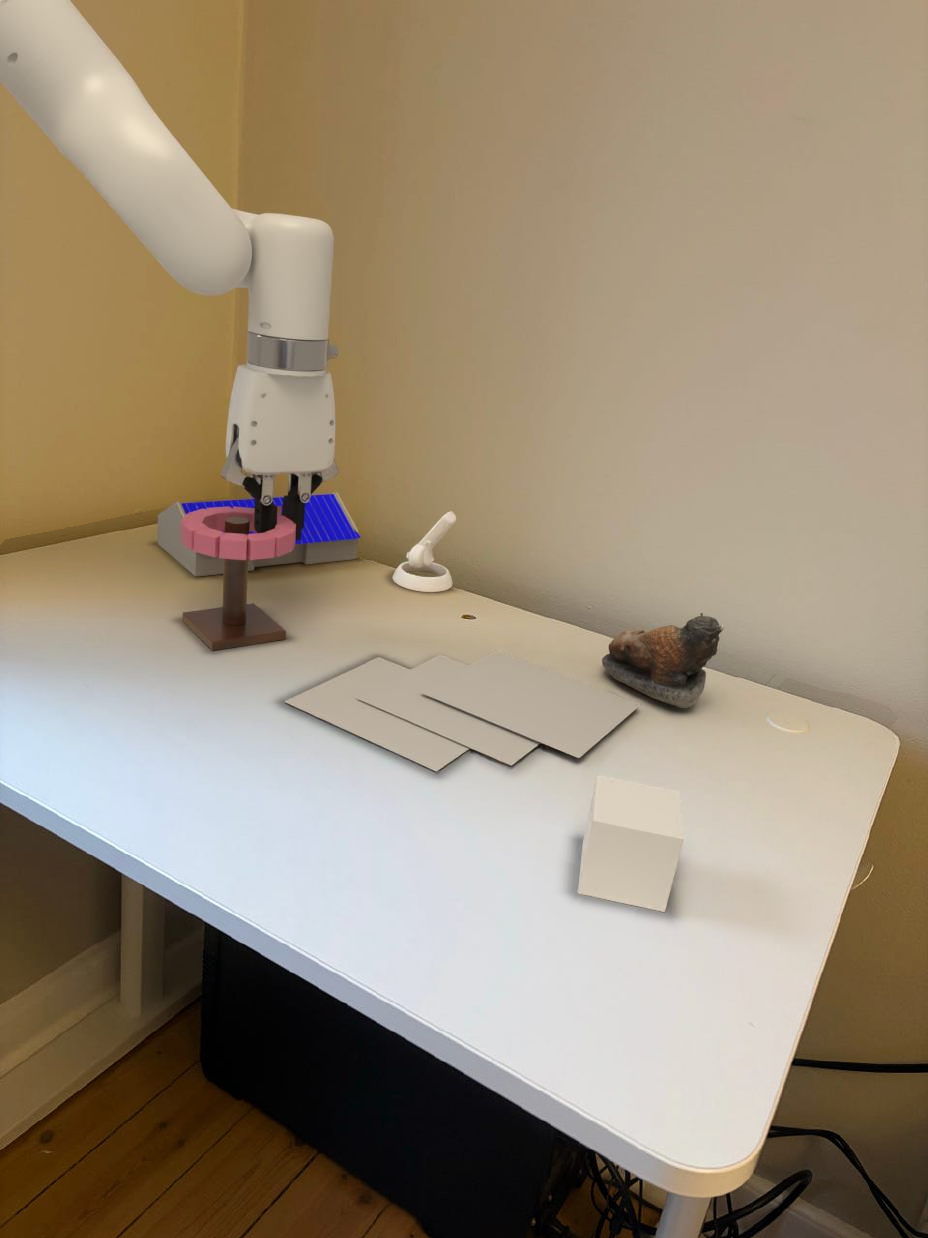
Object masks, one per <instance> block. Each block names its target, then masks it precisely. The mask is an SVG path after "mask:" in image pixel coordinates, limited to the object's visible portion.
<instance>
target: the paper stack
mask: <svg viewBox="0 0 928 1238" xmlns="http://www.w3.org/2000/svg"><path fill="white" fill-rule="evenodd" d="M284 703H285V704H287V705H291V706H292V707H294V708H297V709H299V710H301V711H303V712H305V713H307V714H310V715H312V716H314V717H316V718H318V719H320V720H323V721H325V722H327V723H329V724H330V725H331V724H332V725H334V726H336V727H338V728H340V729H342V730H345V731H347V732H349V733H350V734H351V733H352V734H353V735H356V736H358V737H360V738H361V739H364V740H366V741H369V742H371V743H373V744H375V745H376V746H377V745H378V746H380V747H381V748H384V749H386V750H388V751H391V752H392V753H394V754H397V755H398V756H401V757H404V758H405V759H408V760H410V761H412V762H415V763H416V764H418V765H421V766H423V767H425V768H428V769H429V770H432V771H434V772H438V771H440V770H441V769H442V768H444V767H445V766H447V765H448V764H450V763H451V762H452V761H454V760H455V759H457V758H458V757H460V756H461V755H463V754H464V753H466V752H467V751H468V750H470V749H471V750H474V751H476V752H479V753H481V754H482V755H486V756H488V757H491V758H492V759H495V760H497V761H499V762H501V763H504V764H507V765H508V766H511V767H512V766H513V765H515V764H516V763H517V762H518V761H520V760H521V759H522V758H524V757H525V756H526V755H528V754H529V753H530V752H531V751H533V750H534V749H535V748H536V747H538V746H539V745H541V744H543V745H546V746H548V747H551V748H553V749H555V750H558V751H560V752H563V753H564V754H567V755H570V756H572V757H574V758H577V759H580V758H581V757H582V756H584V755H585V754H586V753H587V752H588V751H590V749H592V748H593V747H594V746H596V744H597V743H599V742H601V740H602V739H604V738H605V736H607V735H608V734H609V733H611V731H612V730H614V729H615V728H616V727H618V725H619V724H621V723H622V722H623V721H624V720H625V719H626V718H628V717H629V716H630V715H631V714H633V712H635V711H636V710H637V709H638V708H639V707H640V706H641V705H642V704H641V703H638V702H636V701H633V700H631V699H627V698H625V697H623V696H620V695H616V694H614V693H611V692H609V691H606V690H603V689H601V688H599V687H595V686H593V685H591V684H586V683H585V682H582V681H579V680H576V679H574V678H571V677H568V676H565V675H563V674H560V673H557V672H555V671H552V670H549V669H547V668H545V667H542V666H539V665H536V664H534V663H530V662H528V661H526V660H523V659H519V658H517V657H515V656H512V655H509V654H506V653H505V652H504V653H503V652H501V651H498V650H494V651H492V652H490V653H488V654H487V655H484V656H483V657H481V658H480V659H478V660H476V661H474V662H472V663H470V664H466V663H463V662H461V661H458V660H456V659H452V658H451V657H450V658H449V657H448V656H445V655H442V654H438V655H436V656H434V657H432V658H430V659H429V660H427V661H424V662H422V663H420V664H419V665H416V666H415V667H413V668H411V669H410V668H407V667H404V666H402V665H400V664H397V663H395V662H392V661H390V660H387V659H386V658H385V659H384V658H382V657H380V656H378V657H376V658H373V659H371V660H368V661H367V662H364V663H363V664H361V665H358V666H356V667H354V668H352V669H350V670H348V671H346V672H344V673H342V674H340V675H337V676H335V677H332V678H331V679H328V680H327V681H325V682H322V683H321V684H318V685H316V686H314V687H312V688H310V689H308V690H305V691H303V692H301V693H298V694H297V695H295V696H293V697H291V698H288V699H286V700H284Z"/></svg>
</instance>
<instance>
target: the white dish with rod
mask: <svg viewBox="0 0 928 1238" xmlns="http://www.w3.org/2000/svg"><path fill="white" fill-rule="evenodd" d="M456 521H457V516H456V514H455V513H454V512H453V511H451V510H450V511H448V512H446V513H445V514H443V515H442V516H441V517H440V519H438V520H437V521H436V523H435V524H434V525H433V526H432V527H431V529H429V531H428V532H427V533H426V534H425V535H424V536H423V538H422V539H421V540H420V541H419V542H418V543H416V544H415V545H414V546H413V547H412V548H411V549H410V551H407V553H406V556H405V557H406V559H407V560H408V561H404V562H401V563H400V564H399V565H398V566H397V567H396V569H395V570H394V573H393V575H392V581H393V583H395V584H396V585H398V586H400V587H403V588H405V589H408V590H411V591H415V592H416V591H417V592H422V593H437V592H444V591H447V590H449V589H451V588H452V587H453V584H454V583H453V578H452V576H451V572H450V571H449V569H448V568H447V567H446V566H444V565H442V564H439V563H437V562H434V561H435V558H434V552H433V549H434V547H435V546H436V545H437V544H438V543H439V541H441V539H442V538H443V537H444V536H445V535H446V534H447V533H448V532H449V531H450V529H451V528H452V527H453V526H454V525H455V524H456ZM410 572H419V573H420V572H421V573H428V574H433V575H437V576H421V575H416V574H413V573H410Z"/></svg>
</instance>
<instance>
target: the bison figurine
mask: <svg viewBox="0 0 928 1238" xmlns="http://www.w3.org/2000/svg"><path fill="white" fill-rule="evenodd" d="M703 614H704V613H703V612H700V614H698V615H697V616H695V617H692V618H691V619H689V620H687V622H686V624H685V625H684V626H683V627H678V626H676V625H673V624H671V625H664V626H663V625H662V626H660V627H657V628H654V629H652V630H649V631H645V630H644V629H642V628H640V627H639V628H634V629H630V630H625V631H621V632H620V633H618V634H617V635H616V636H615V637H613V639H612V640H611V641H610V643H609V644H608V653H606V654H604V656H603V657H602V658H601V665H602V667H603V668H604V669H605V671H606V672H607V673H608V674H609V675H610V676H611V677H612V678H613V679H614V680H616V681H618V682H620V683H622V684H625V685H627V686H629V687H630V688H632V689H633V690H635V691H637V692H639V693H641V694H644V695H645V696H647V697H650V698H652V699H654V700H656V701H659V702H662V703H664V704H668V705H670V706H674V707H677V708H681V709H682V708H683V709H687V708H690V707H692V706H694V705H695V703H696V702H697V701H698V700H699V698H700V696H701V695H702V693H703V692H704V689H705V686H706V677H707V672H706V670H705V669H703V668H704V667H705V666H707V663H708V661H710V660H711V659H712V657H714V656H716V655H717V653H718V645H719V641H720V634H721V633H722V632H723V631H724V629H725V628H724V627H725V625H724V622H722V623H721V625H720V624H719V621H718V620H717V618H715V617H711V616H708V615H703Z"/></svg>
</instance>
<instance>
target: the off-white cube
mask: <svg viewBox="0 0 928 1238" xmlns="http://www.w3.org/2000/svg"><path fill="white" fill-rule="evenodd" d="M683 826H684V825H683V815H682V800H681V791H680V790H674V789H669V788H665V787H659V786H655V785H649V784H644V783H639V782H634V781H629V780H625V779H620V778H614V777H609V776H606V775H605V776H604V775H600V774H596V778H595V782H594V787H593V792H592V795H591V801H590V805H589V811H588V815H587V819H586V826H585V830H584V834H583V840H582V846H581V857H580V866H579V876H578V885H577V894H579V895H584V896H587V897H593V898H597V899H602V900H607V901H612V902H616V903H620V904H625V905H629V906H634V907H638V908H644V909H647V910H652V911H657V912H662V913H665V912H666V910H667V905H668V902H669V898H670V893H671V891H672V887H673V883H674V878H675V875H676V871H677V867H678V863H679V859H680V856H681V851H682V847H683V843H684V839H685V838H684V827H683Z"/></svg>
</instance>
